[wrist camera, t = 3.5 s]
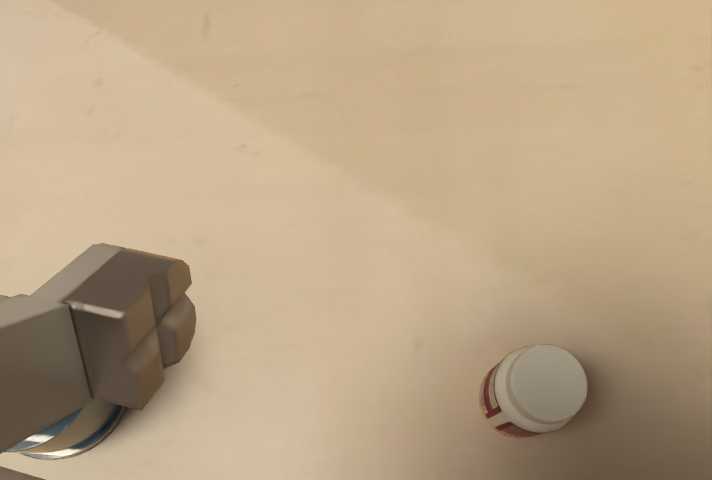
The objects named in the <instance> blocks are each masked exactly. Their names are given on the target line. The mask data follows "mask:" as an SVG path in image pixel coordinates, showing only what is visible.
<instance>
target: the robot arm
mask: <svg viewBox="0 0 712 480" xmlns="http://www.w3.org/2000/svg"><path fill="white" fill-rule="evenodd" d="M191 284H192V281H191V275H190V269H189V266H188V265H187V264H186V263H185V262H184V261H183V260H179V259H175V258H170V257H165V256H161V255H156V254H152V253H147V252H143V251H138V250H134V249H126V248H123V247H119V246H114V245H109V244H104V243H101V244H94V245H92V246H91V247H89V248H88V249H87V250H86V251H85V252H83V253H82V254H81V255H80V256H78V257H77V258H76V259H75V260H73V261H72V262H71V263H70V264H69V265H67V266H66V267H65V268H64V269H62V270H61V271H60V272H59V273H57V274H56V275H55V276H54V277H53V278H51V279H50V280H49V281H48V282H46V283H45V284H44V285H43V286H41V287H40V288H39V289H38V290H37V291H35V292H34V293H33V294H32V295H30V296H28V295H23V294H20V295H17V296H14V297H11V298H8V299H4V300H1V301H0V454H1V453H3V452H4V451H6V450H8V449H10V448H11V447H13V446H15V445H17V444H19V443H20V442H22V441H24V440H26V439H27V438H29V437H31V436H33V435H34V434H36V433H38V432H40V431H41V430H43V429H45V428H47V427H48V426H50V425H52V424H54V423H56V422H57V421H59V420H61V419H63V418H64V417H66V416H68V415H70V414H71V413H73V412H75V411H77V410H78V409H80V408H82V407H84V406H86V405H87V404H89V403H91V402H92V399H94V400H99V401H103V402H108V403H112V404H117V405H121V406H126V407H130V408H135V409H139V410H142V409H143V408H144V406H145V405H146V404H147V402H148V401H149V400H150V399H151V397H152V396H153V395H154V394H155V392H156V391H157V390H158V388H159V387H160V386H161V385H162V383H163V382H164V381H165V380H164V372H163V369H165V368H167V367H169V366H171V365H173V364H176V363H178V362H180V360H181V359H182V357H183V356H184V355H185V353H186V352H187V351H188V349H189V347H190V344H191V341H192V339H193V336H194V333H195V325H196V313H195V306H194V305H193V303H192V302H191V301H190V299H189V298H188V297H187V295H186V294H185V292H186V290H187V289H188V288H189V286H190V285H191ZM0 480H45V479H41V478H38V477H34V476H31V475H28V474H24V473H21V472H17V471H14V470H11V469H7V468H4V467H0Z"/></svg>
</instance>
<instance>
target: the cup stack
mask: <svg viewBox="0 0 712 480" xmlns="http://www.w3.org/2000/svg"><path fill="white" fill-rule="evenodd" d="M8 298H11V297H7V296H3V295H0V301H1V300H4V299H8ZM125 409H126V406H121V405H117V404H112V403H108V402H103V401H99V400H94V399H92V402H91V403H89V404H87V405H86V406H84V407H82V408H80V409H78V410H77V411H75V412H73V413H71V414H70V415H68V416H66V417H64V418H63V419H61V420H59V421H57V422H56V423H54V424H52V425H50V426H48V427H47V428H45V429H43V430H41V431H40V432H38V433H36V434H34V435H33V436H31V437H29V438H27V439H26V440H24V441H22V442H20V443H19V444H17V445H15V446H13V447H11V448H10V449H8V450H6V451H4V452H15V453H21V454H23V455H25V456H29V457H32V458H37V459H45V460H56V459H64V458H68V457H72V456H75V455H78V454H80V453H83V452H85V451H87V450H88V449H90V448H92V447H94V446H95V445H96V444H98V443H99V442H100V441H102V440H103V439H104V438H105V437H106V436H107V435H108V434H109V433H110V432H111V431H112V429H113V428H114V427H115V426H116V424H117V423H118V421H119V420H120V418H121V417H122V415H123V413H124V411H125Z"/></svg>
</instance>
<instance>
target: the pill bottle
mask: <svg viewBox="0 0 712 480" xmlns="http://www.w3.org/2000/svg"><path fill="white" fill-rule="evenodd" d="M587 391H588V385H587V377H586V374H585V371H584V369H583V367H582V365H581V364H580V362H579V361H578V360H577V359H576V358H575V357H574V356H573V355H572V354H571V353H570V352H568V351H567V350H565V349H563V348H561V347H558V346H554V345H547V344H544V345H537V346H535V345H534V346H525V347H522V348H519V349H517V350H515V351H513V352H511V353H510V354H509V355H507V356H506V357H505V358H504V359H503V360H502V361H501V362H500V363H498V364H497V365H496V366H495V367H494V368H493V369H491V370H490V371H489V372H488V373H487V375H486V376H485V377H484V379H483V381H482V383H481V386H480V390H479V404H480V408H481V411H482V414H483V416H484V417H485V419H486V421H487V422H488V423H489V424H490V425H491V426H492V427H493V428H494V429H495V430H497V431H498V432H500V433H502V434H504V435H506V436H510V437H515V438H523V437H530V436H533V435H538V434H542V433H546V432H551V431H554V430H557V429H559V428H561V427H562V426H564V425H565V424H566V423H568V422H569V421H570V420H571V419H572V417H573V416H574V415H575V414H576V413H577V412H578V411H579V410H580V409H581V407H582V406H583V404H584V402H585V399H586V396H587Z"/></svg>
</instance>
